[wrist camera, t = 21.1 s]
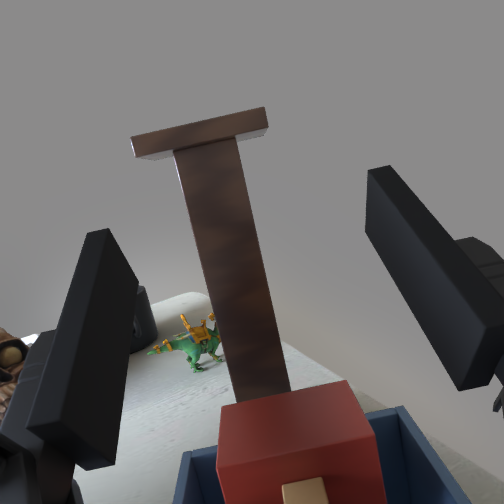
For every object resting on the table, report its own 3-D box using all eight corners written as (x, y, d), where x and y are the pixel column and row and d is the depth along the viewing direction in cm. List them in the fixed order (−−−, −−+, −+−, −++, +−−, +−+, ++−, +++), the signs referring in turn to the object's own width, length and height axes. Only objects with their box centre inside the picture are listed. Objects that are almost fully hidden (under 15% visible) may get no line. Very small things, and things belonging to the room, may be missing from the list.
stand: (220, 470, 32) (127, 136, 26) (224, 418, 39) (150, 144, 33) (333, 446, 32) (264, 104, 26) (317, 398, 39) (259, 119, 33)
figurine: (242, 354, 52) (229, 300, 50) (159, 391, 47) (141, 333, 45) (234, 347, 55) (221, 296, 53) (154, 381, 50) (137, 326, 48)
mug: (117, 368, 56) (99, 313, 54) (98, 348, 66) (82, 301, 64) (173, 342, 61) (158, 291, 59) (147, 326, 71) (134, 282, 69)
